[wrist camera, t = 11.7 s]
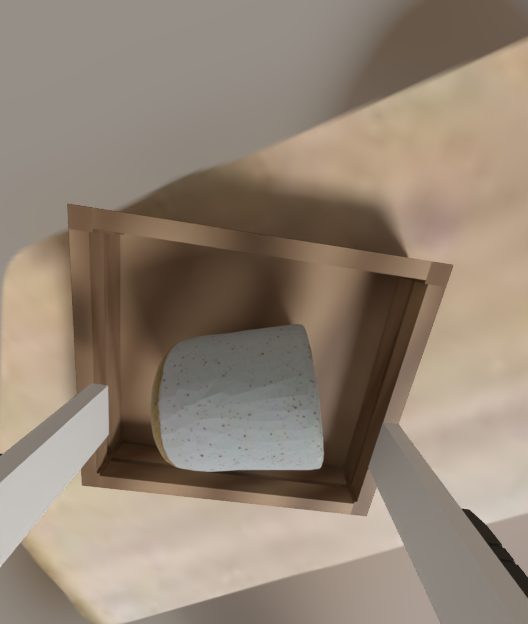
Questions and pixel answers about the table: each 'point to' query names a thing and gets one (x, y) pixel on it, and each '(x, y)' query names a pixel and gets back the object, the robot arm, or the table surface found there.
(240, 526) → the table surface
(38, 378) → the table surface
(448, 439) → the table surface
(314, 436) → the ceramic mug
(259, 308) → the crate
